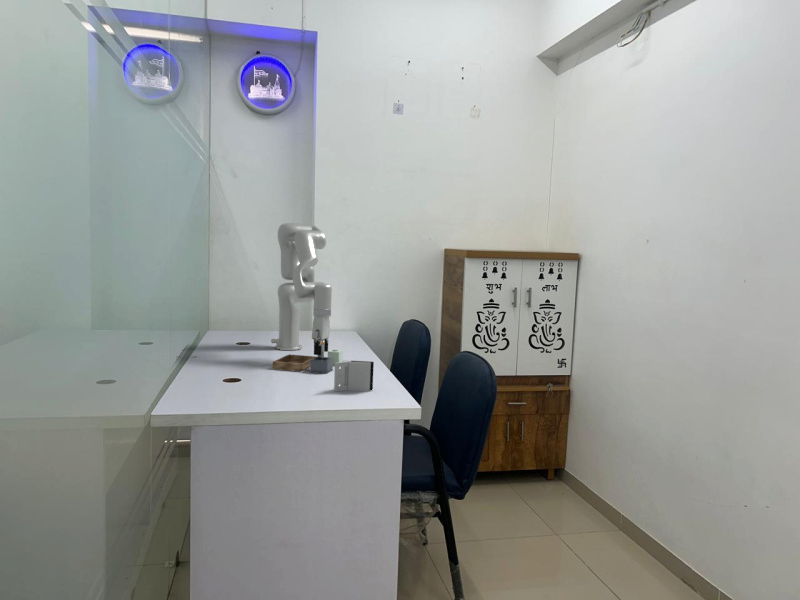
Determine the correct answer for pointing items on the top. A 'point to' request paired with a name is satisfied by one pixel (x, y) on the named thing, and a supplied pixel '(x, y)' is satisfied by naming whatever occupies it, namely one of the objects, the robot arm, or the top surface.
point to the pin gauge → (322, 348)
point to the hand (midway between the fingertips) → (321, 352)
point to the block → (321, 364)
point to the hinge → (353, 375)
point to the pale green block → (335, 355)
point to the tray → (293, 362)
